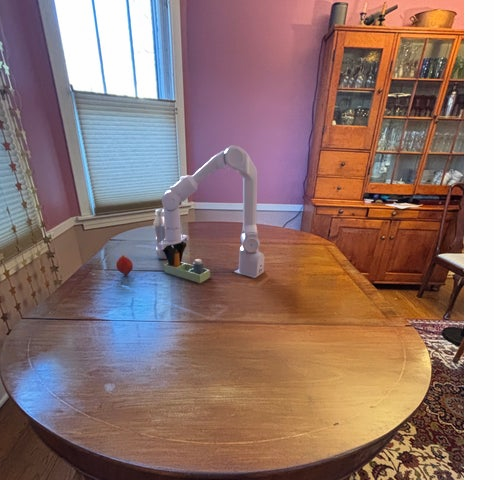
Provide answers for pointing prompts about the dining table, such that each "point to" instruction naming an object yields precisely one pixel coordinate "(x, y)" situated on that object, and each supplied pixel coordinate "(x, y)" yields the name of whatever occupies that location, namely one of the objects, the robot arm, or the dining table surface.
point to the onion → (124, 265)
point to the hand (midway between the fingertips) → (175, 263)
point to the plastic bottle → (159, 231)
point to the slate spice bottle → (198, 266)
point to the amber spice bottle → (176, 259)
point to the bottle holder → (187, 272)
